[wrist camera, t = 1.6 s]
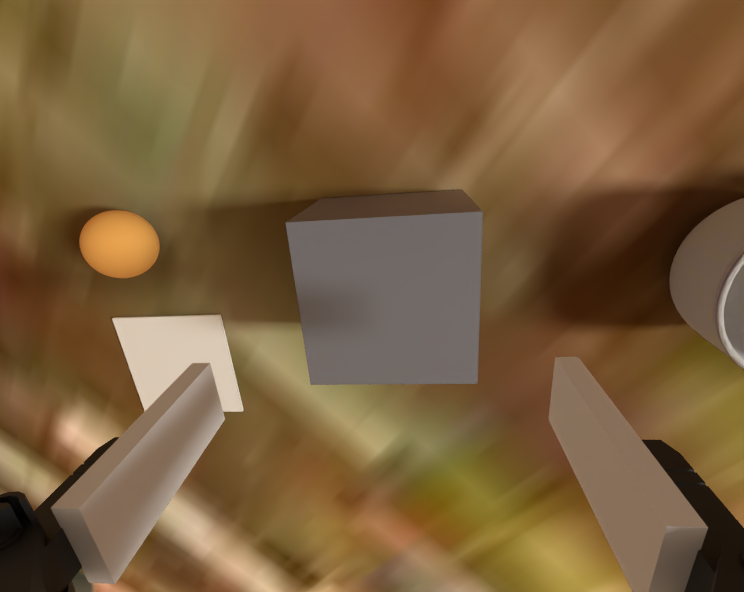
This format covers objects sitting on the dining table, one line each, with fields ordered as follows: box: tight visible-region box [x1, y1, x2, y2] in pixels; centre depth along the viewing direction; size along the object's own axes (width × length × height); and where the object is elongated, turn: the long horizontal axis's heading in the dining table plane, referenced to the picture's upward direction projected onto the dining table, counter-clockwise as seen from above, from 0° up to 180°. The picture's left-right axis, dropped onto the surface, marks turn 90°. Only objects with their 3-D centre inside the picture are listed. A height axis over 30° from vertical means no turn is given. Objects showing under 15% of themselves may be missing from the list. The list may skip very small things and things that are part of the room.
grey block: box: [285, 190, 483, 385], centre depth 26 cm, size 10×10×9 cm
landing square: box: [112, 314, 243, 412], centre depth 36 cm, size 10×10×1 cm
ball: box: [79, 210, 160, 278], centre depth 29 cm, size 5×5×5 cm
